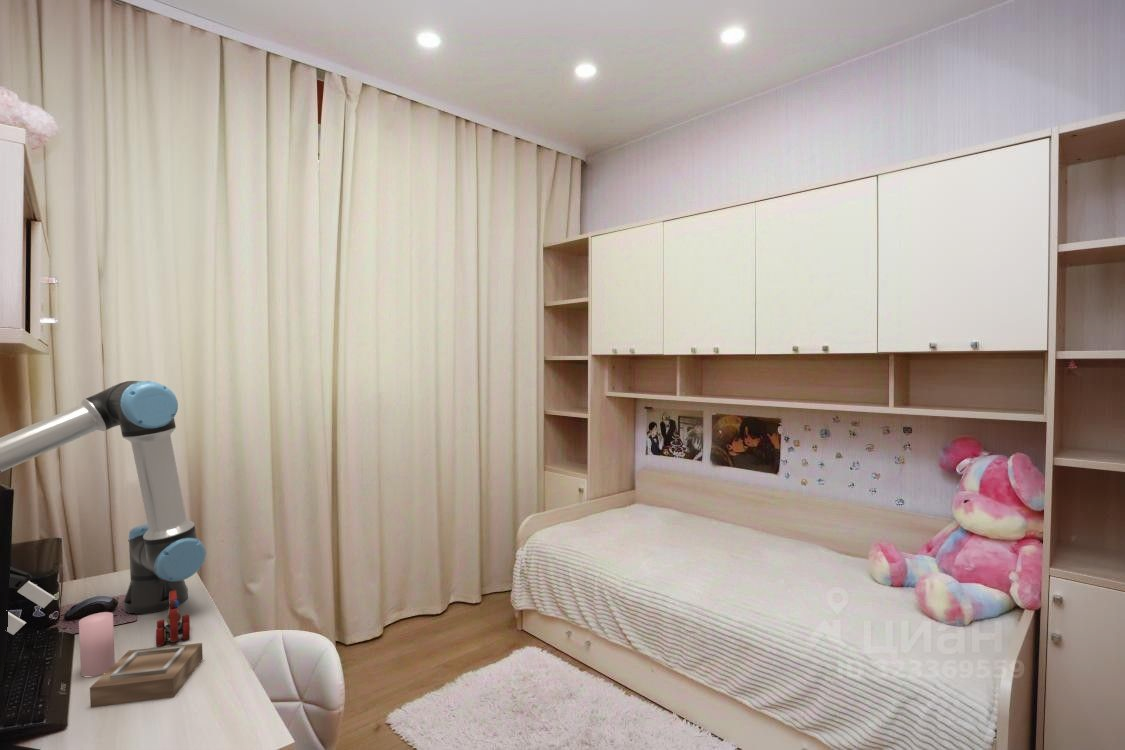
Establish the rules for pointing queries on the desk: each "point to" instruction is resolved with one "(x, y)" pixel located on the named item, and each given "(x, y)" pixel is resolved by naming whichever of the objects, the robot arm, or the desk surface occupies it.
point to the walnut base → (146, 675)
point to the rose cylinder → (96, 643)
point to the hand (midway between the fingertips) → (35, 615)
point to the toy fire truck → (173, 623)
